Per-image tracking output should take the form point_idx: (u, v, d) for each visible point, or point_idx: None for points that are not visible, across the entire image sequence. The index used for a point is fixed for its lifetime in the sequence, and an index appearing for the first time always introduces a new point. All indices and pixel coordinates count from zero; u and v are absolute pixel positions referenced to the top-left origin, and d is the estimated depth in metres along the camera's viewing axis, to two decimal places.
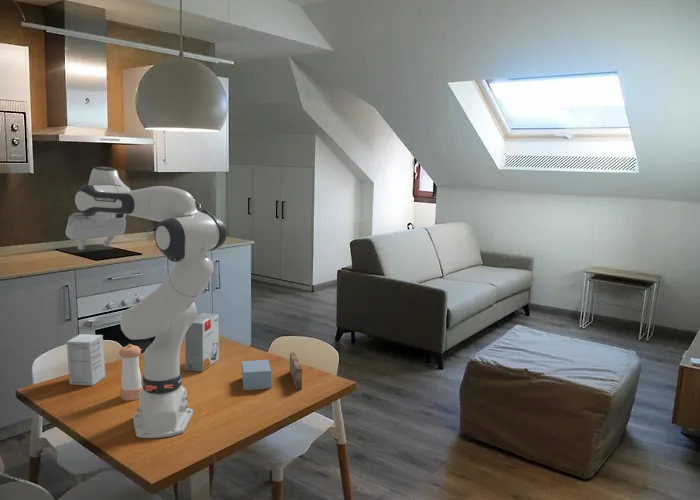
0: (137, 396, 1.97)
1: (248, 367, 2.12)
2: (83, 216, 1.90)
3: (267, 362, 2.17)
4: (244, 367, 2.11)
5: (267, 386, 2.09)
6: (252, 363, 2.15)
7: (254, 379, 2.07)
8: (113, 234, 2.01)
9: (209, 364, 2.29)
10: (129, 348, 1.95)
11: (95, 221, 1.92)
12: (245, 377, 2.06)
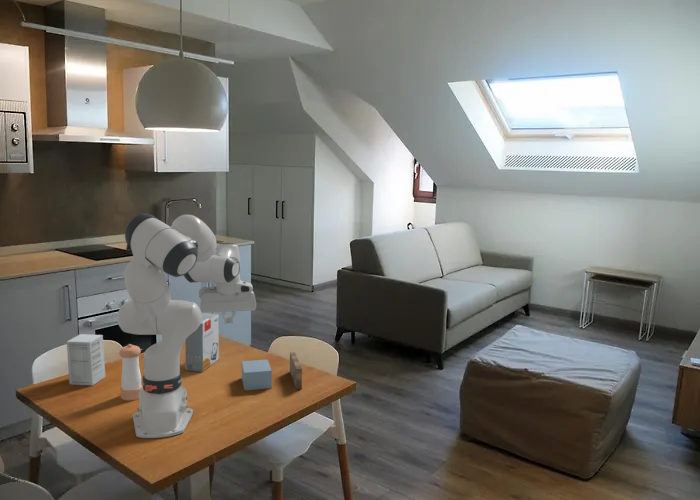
0: (137, 396, 1.97)
1: (249, 367, 2.11)
2: (212, 290, 2.04)
3: (267, 362, 2.17)
4: (244, 367, 2.11)
5: (267, 386, 2.09)
6: (252, 363, 2.15)
7: (255, 379, 2.07)
8: (244, 309, 2.07)
9: (209, 364, 2.29)
10: (129, 348, 1.95)
11: (222, 295, 2.03)
12: (246, 377, 2.06)
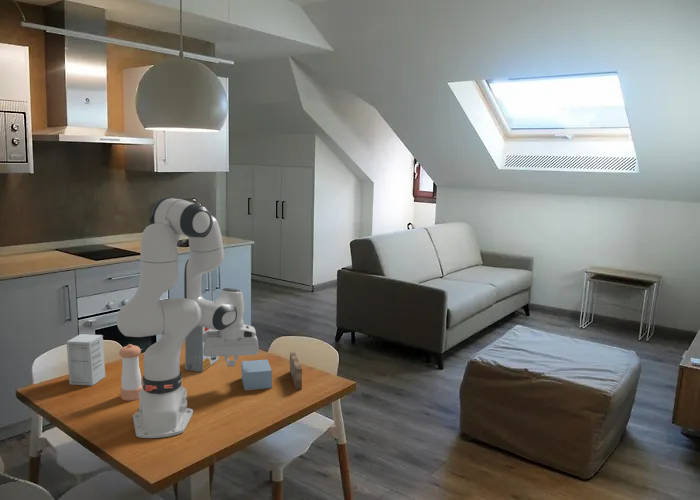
0: (137, 396, 1.97)
1: (249, 367, 2.11)
2: (215, 334, 2.07)
3: (267, 362, 2.17)
4: (244, 367, 2.11)
5: (268, 386, 2.09)
6: (252, 363, 2.15)
7: (255, 379, 2.07)
8: (246, 353, 2.09)
9: (209, 364, 2.29)
10: (129, 348, 1.95)
11: (225, 339, 2.06)
12: (246, 377, 2.06)
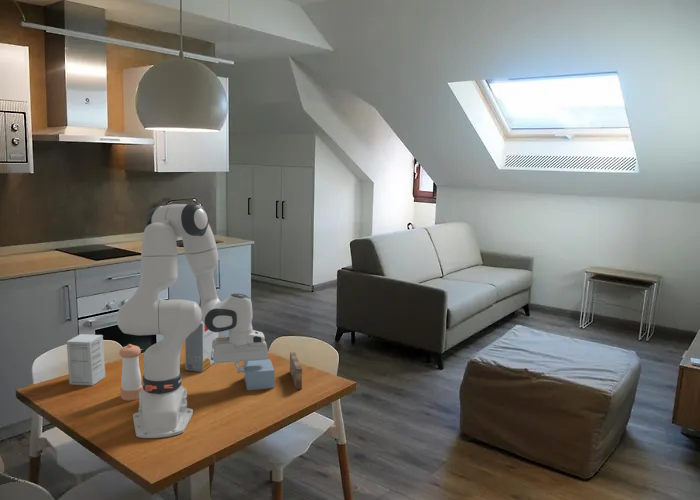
0: (137, 396, 1.97)
1: (251, 366, 2.12)
2: (225, 341, 2.08)
3: (269, 362, 2.17)
4: (247, 367, 2.11)
5: (270, 385, 2.09)
6: (255, 363, 2.15)
7: (258, 379, 2.08)
8: (256, 359, 2.11)
9: (209, 364, 2.29)
10: (129, 348, 1.95)
11: (235, 345, 2.08)
12: (248, 377, 2.07)
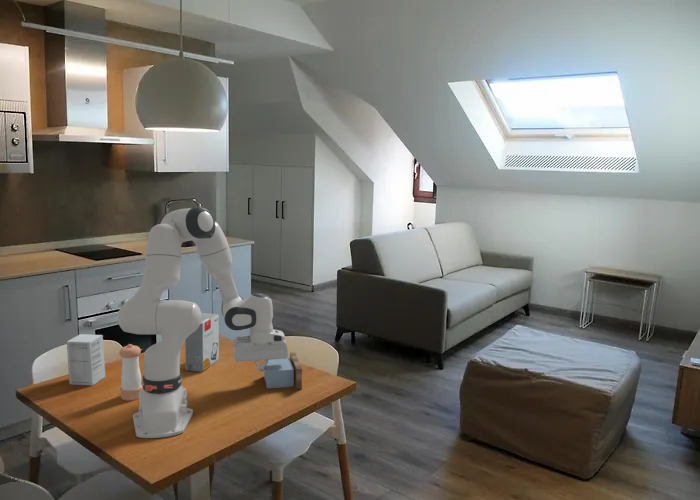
0: (137, 396, 1.97)
1: (271, 365, 2.14)
2: (246, 340, 2.10)
3: (289, 361, 2.19)
4: (267, 366, 2.13)
5: (290, 385, 2.11)
6: (274, 362, 2.17)
7: (277, 378, 2.09)
8: (276, 357, 2.13)
9: (209, 364, 2.29)
10: (129, 348, 1.95)
11: (255, 344, 2.09)
12: (268, 376, 2.08)
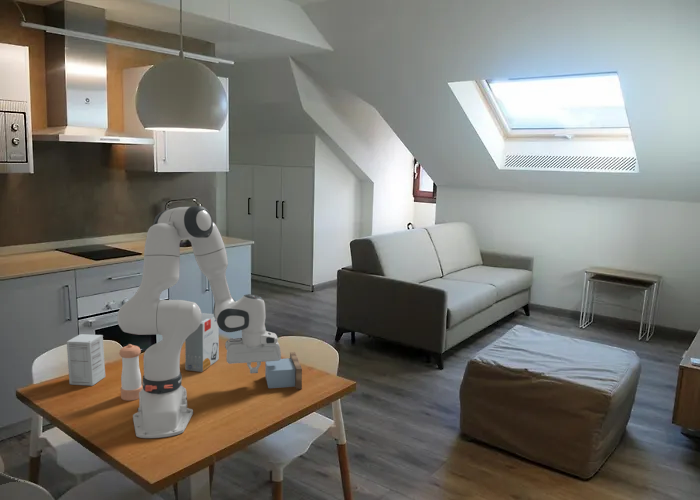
0: (137, 396, 1.97)
1: (272, 365, 2.14)
2: (238, 341, 2.09)
3: (290, 361, 2.19)
4: (268, 365, 2.13)
5: (291, 384, 2.11)
6: (276, 362, 2.17)
7: (279, 378, 2.10)
8: (269, 360, 2.11)
9: (209, 364, 2.29)
10: (129, 348, 1.95)
11: (248, 346, 2.08)
12: (269, 375, 2.09)
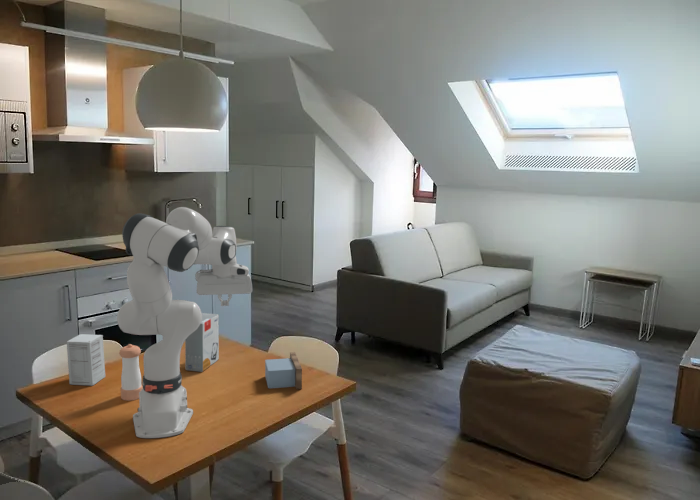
0: (137, 396, 1.97)
1: (272, 365, 2.14)
2: (208, 273, 2.06)
3: (290, 361, 2.19)
4: (268, 365, 2.13)
5: (291, 384, 2.11)
6: (276, 362, 2.17)
7: (279, 378, 2.09)
8: (240, 292, 2.08)
9: (209, 364, 2.29)
10: (129, 348, 1.95)
11: (218, 277, 2.05)
12: (269, 375, 2.08)
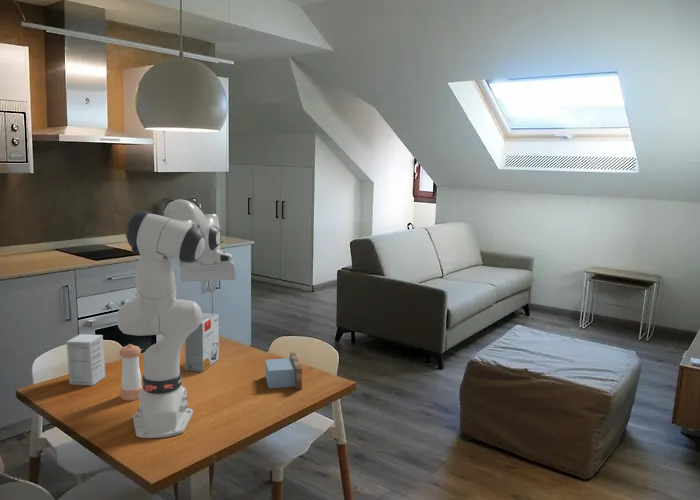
0: (137, 396, 1.97)
1: (272, 365, 2.14)
2: None
3: (290, 361, 2.19)
4: (268, 365, 2.13)
5: (291, 384, 2.11)
6: (276, 362, 2.17)
7: (279, 377, 2.10)
8: (224, 278, 2.11)
9: (209, 364, 2.29)
10: (129, 348, 1.95)
11: (202, 264, 2.08)
12: (270, 375, 2.09)
